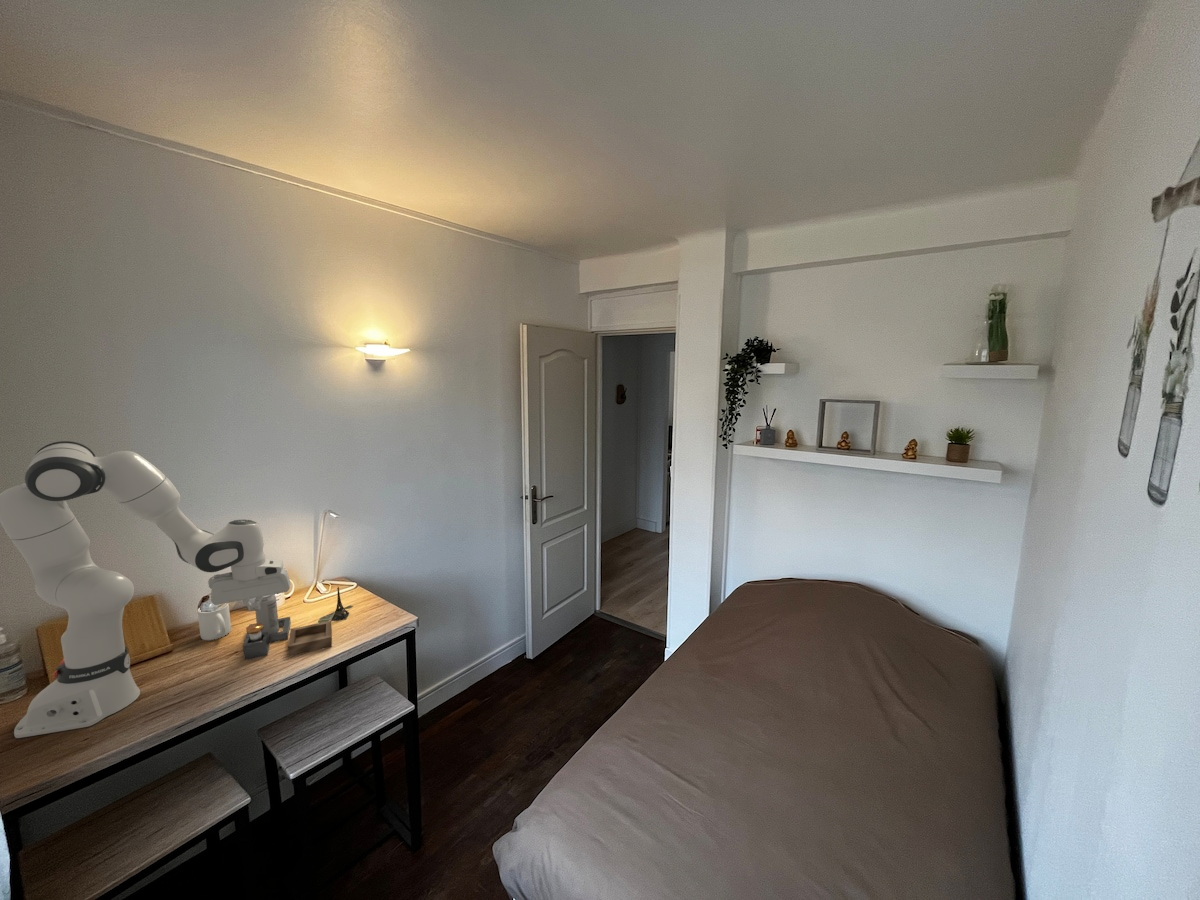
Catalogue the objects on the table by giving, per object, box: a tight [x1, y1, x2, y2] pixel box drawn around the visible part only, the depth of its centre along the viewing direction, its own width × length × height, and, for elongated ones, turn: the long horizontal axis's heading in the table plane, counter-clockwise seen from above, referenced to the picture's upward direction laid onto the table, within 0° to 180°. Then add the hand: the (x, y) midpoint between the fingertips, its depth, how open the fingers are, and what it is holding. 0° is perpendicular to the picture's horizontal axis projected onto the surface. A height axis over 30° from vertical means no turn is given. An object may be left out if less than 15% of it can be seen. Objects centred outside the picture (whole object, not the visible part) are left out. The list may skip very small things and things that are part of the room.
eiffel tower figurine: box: [317, 586, 354, 623], centre depth 176 cm, size 15×10×13 cm
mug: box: [197, 603, 232, 641], centre depth 161 cm, size 12×8×10 cm
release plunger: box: [245, 622, 263, 643], centre depth 152 cm, size 4×4×6 cm
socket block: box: [242, 616, 292, 661], centre depth 159 cm, size 12×20×5 cm, turn 29°
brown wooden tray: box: [287, 620, 333, 658], centre depth 159 cm, size 12×12×4 cm
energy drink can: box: [254, 594, 280, 634], centre depth 162 cm, size 6×6×15 cm
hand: (254, 609), depth 151 cm, fingers closed
